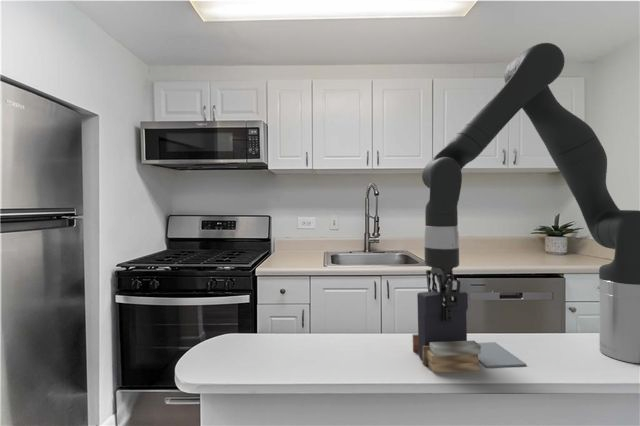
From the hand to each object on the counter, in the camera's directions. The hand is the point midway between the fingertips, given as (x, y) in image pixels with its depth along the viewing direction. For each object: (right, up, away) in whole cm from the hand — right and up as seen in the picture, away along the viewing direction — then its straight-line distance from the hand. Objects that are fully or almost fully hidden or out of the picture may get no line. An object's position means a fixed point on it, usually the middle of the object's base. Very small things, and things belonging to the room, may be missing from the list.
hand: (442, 318), depth 79 cm
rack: (0, -9, 0) cm, 9 cm away
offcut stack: (0, -9, -6) cm, 11 cm away
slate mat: (+12, -9, +1) cm, 15 cm away
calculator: (0, -9, 0) cm, 9 cm away
